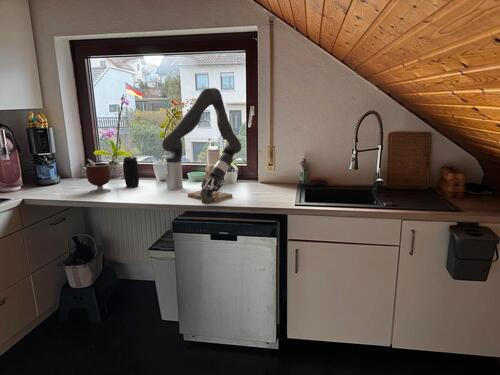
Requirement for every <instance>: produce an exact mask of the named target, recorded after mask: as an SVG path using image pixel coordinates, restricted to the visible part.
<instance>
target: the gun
mask: <svg viewBox="0 0 500 375" xmlns="http://www.w3.org/2000/svg"><path fill="white" fill-rule="evenodd" d="M215 165H216V163H213V164H208V165H206V166H205V169H204V172H205V176H204V178H205V179H208V178H209V177H210V173H211V171H212V169H213V168H214V166H215ZM208 186H209V185H208ZM206 187H207V186H206ZM210 188H211V187H210Z"/></svg>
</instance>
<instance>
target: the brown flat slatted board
mask: <svg viewBox="0 0 500 375" xmlns="http://www.w3.org/2000/svg"><path fill="white" fill-rule="evenodd" d="M201 191H202V189H200V190H197V191H196V190H195V191H193V192H189V193H187V198H191V199H196V200H201V201H202V196H201V195H200V193H201ZM213 193H216V192H215V191H214V192H213ZM217 193H219V195H217V196H213V203H218V202H222V201H225V200H229V199H233V194H232V193H229V192H228V193H227V192H222V191H217Z"/></svg>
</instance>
